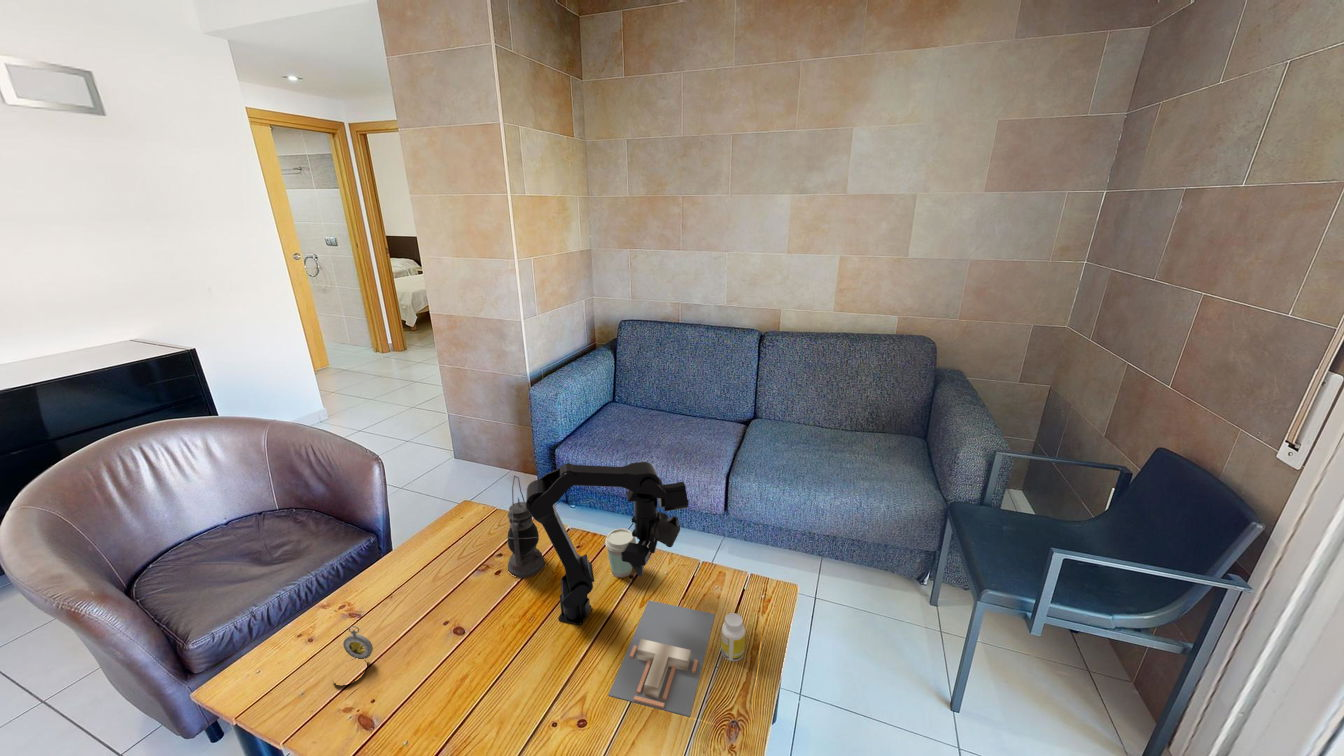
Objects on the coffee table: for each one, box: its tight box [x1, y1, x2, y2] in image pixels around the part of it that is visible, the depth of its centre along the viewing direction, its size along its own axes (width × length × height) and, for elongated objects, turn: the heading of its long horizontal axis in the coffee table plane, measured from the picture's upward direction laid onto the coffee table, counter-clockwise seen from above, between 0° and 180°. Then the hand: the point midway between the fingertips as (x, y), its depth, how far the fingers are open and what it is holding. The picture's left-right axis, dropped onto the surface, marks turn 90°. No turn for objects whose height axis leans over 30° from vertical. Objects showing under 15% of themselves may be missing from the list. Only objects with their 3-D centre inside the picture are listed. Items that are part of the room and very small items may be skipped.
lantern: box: [506, 475, 546, 579], centre depth 140 cm, size 12×11×30 cm
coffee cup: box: [604, 527, 637, 578], centre depth 140 cm, size 9×8×12 cm
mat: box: [607, 599, 716, 719], centre depth 116 cm, size 18×28×1 cm, turn 165°
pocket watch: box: [342, 625, 374, 660], centre depth 110 cm, size 8×8×10 cm
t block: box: [637, 639, 691, 698], centre depth 110 cm, size 12×11×3 cm
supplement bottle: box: [720, 612, 746, 662], centre depth 114 cm, size 5×5×10 cm
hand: (646, 563), depth 128 cm, fingers open, 9 cm apart
